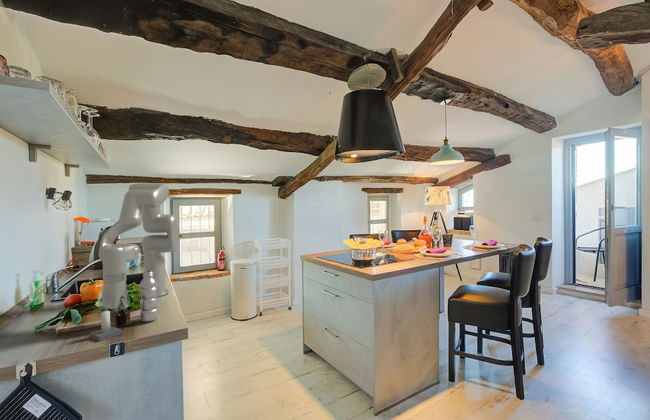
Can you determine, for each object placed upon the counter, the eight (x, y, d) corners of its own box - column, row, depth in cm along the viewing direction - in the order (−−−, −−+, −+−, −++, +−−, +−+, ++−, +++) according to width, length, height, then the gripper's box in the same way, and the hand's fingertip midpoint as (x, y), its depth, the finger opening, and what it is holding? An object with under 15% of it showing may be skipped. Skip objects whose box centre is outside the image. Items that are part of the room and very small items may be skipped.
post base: (89, 337, 107) (89, 313, 107) (111, 330, 114) (111, 307, 113) (99, 341, 104) (99, 316, 104) (121, 333, 110) (121, 310, 110)
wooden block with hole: (101, 326, 117) (101, 313, 117) (120, 320, 123) (120, 308, 123) (110, 329, 114) (110, 316, 114) (130, 323, 120) (130, 310, 120)
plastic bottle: (162, 317, 126) (161, 269, 125) (151, 324, 119) (150, 273, 118) (147, 317, 126) (146, 269, 126) (136, 323, 119) (134, 273, 119)
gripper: (92, 277, 119) (94, 322, 119) (116, 282, 111) (117, 330, 111) (113, 274, 126) (114, 316, 126) (137, 278, 117) (138, 323, 118)
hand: (116, 322), depth 118 cm, fingers closed on wooden block with hole, 7 cm apart
